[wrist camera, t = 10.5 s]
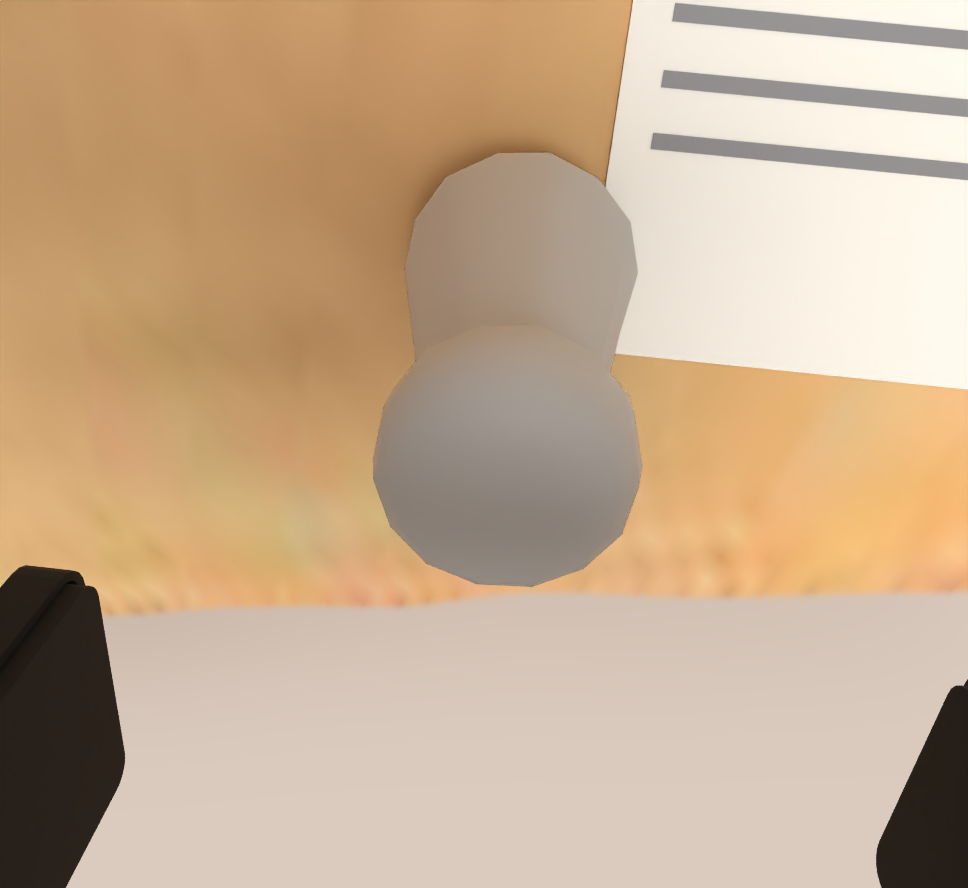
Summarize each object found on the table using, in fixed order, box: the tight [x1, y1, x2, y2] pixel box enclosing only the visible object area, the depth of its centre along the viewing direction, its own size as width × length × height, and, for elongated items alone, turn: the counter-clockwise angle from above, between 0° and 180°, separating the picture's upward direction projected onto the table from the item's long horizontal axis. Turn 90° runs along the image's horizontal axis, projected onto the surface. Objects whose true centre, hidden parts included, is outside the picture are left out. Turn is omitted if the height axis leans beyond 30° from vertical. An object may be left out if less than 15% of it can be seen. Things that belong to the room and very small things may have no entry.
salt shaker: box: [373, 152, 642, 587], centre depth 19 cm, size 6×6×13 cm
